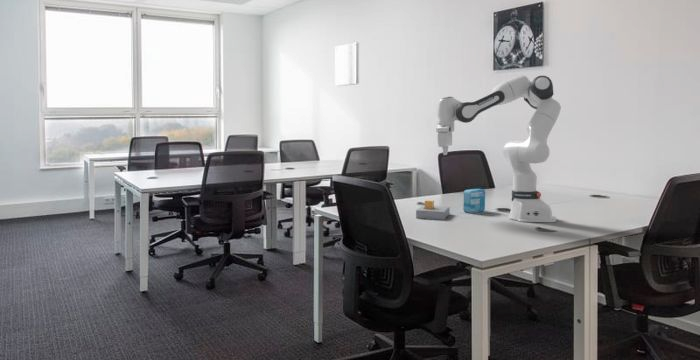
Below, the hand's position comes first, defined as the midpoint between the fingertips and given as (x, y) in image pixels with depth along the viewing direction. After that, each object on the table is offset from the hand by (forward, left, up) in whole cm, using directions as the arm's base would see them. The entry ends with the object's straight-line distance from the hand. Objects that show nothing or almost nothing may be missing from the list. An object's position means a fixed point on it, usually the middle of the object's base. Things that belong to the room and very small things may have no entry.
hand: (445, 154), depth 275 cm
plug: (+6, +10, -31) cm, 33 cm away
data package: (-14, -10, -31) cm, 36 cm away
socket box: (+4, +10, -31) cm, 33 cm away
